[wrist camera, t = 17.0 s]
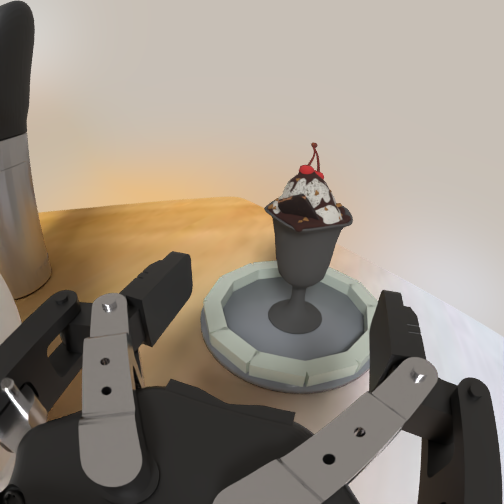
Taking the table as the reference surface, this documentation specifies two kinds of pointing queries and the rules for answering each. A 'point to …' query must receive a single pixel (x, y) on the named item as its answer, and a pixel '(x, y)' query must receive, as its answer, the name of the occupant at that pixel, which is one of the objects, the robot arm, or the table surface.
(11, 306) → the decorative vase
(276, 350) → the tray
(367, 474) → the table surface
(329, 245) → the sundae
